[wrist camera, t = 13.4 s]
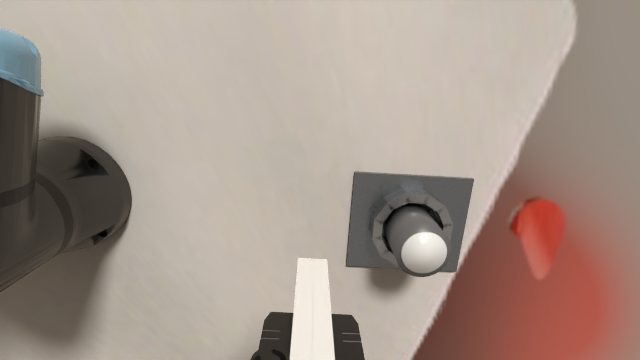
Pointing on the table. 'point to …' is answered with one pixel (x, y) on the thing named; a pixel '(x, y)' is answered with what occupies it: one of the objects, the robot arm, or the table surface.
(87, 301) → the table surface
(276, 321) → the robot arm
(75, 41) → the table surface
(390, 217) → the lens barrel
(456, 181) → the barrel mount
